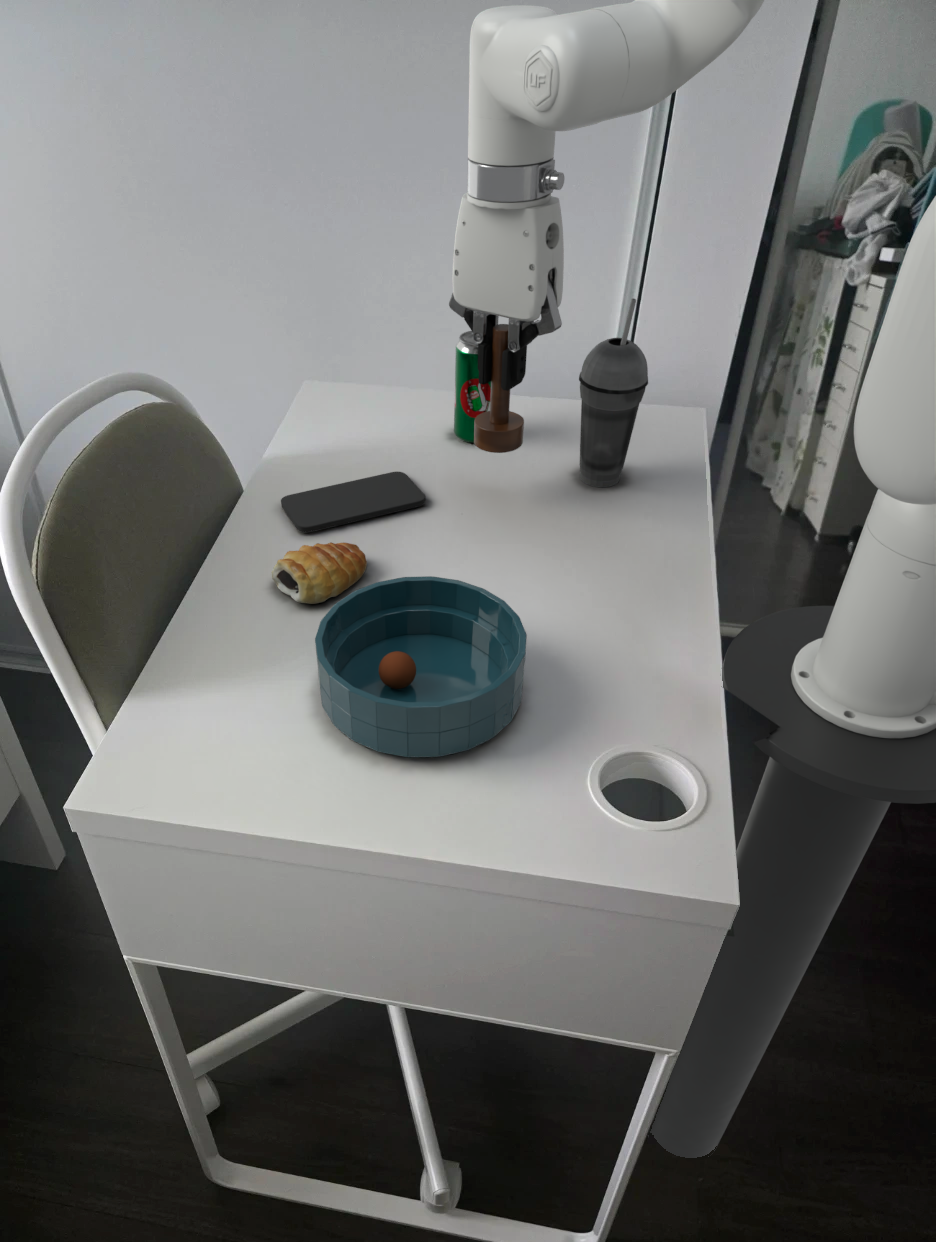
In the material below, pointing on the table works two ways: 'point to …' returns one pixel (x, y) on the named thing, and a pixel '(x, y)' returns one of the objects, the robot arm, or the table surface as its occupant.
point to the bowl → (421, 665)
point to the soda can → (468, 388)
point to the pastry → (319, 571)
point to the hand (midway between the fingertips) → (500, 381)
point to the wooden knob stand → (498, 407)
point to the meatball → (397, 670)
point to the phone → (352, 501)
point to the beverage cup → (610, 405)
